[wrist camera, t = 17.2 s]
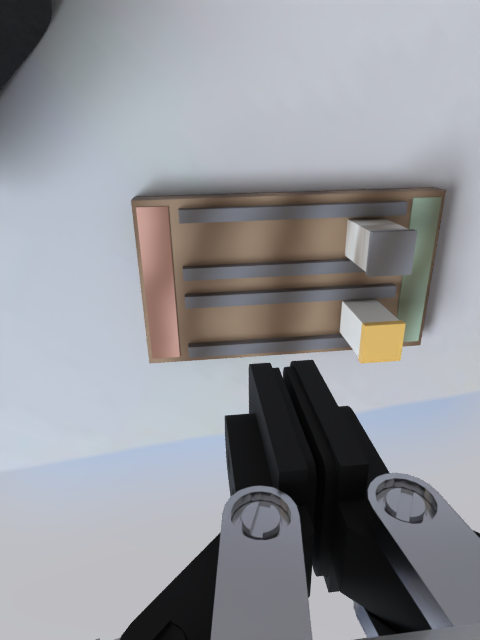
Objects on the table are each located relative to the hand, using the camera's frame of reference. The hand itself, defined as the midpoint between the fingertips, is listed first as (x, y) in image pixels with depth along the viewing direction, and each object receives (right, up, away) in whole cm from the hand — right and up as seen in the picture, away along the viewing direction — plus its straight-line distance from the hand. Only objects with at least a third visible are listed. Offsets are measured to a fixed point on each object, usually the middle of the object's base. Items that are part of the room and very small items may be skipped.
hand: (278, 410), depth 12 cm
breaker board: (+3, +7, +27) cm, 28 cm away
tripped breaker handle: (+9, +3, +27) cm, 29 cm away
